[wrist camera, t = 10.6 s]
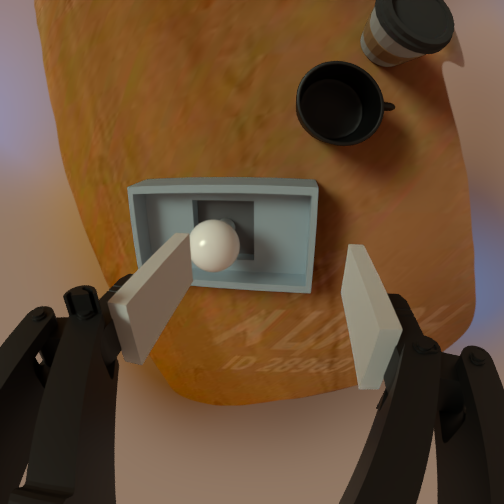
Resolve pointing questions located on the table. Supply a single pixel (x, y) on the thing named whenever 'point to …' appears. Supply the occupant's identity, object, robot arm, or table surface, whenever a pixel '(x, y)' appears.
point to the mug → (340, 103)
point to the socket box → (246, 226)
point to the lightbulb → (214, 245)
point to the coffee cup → (406, 30)
